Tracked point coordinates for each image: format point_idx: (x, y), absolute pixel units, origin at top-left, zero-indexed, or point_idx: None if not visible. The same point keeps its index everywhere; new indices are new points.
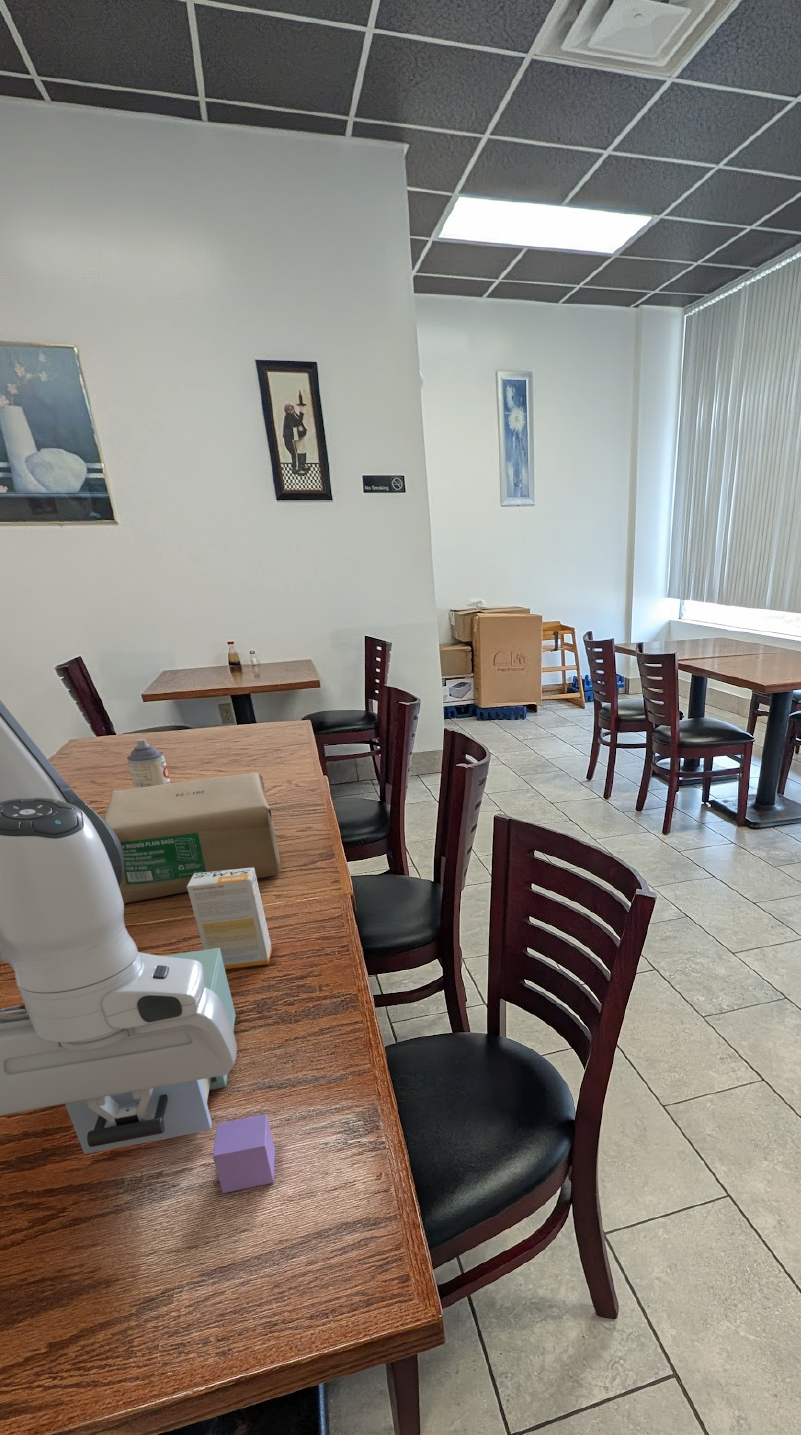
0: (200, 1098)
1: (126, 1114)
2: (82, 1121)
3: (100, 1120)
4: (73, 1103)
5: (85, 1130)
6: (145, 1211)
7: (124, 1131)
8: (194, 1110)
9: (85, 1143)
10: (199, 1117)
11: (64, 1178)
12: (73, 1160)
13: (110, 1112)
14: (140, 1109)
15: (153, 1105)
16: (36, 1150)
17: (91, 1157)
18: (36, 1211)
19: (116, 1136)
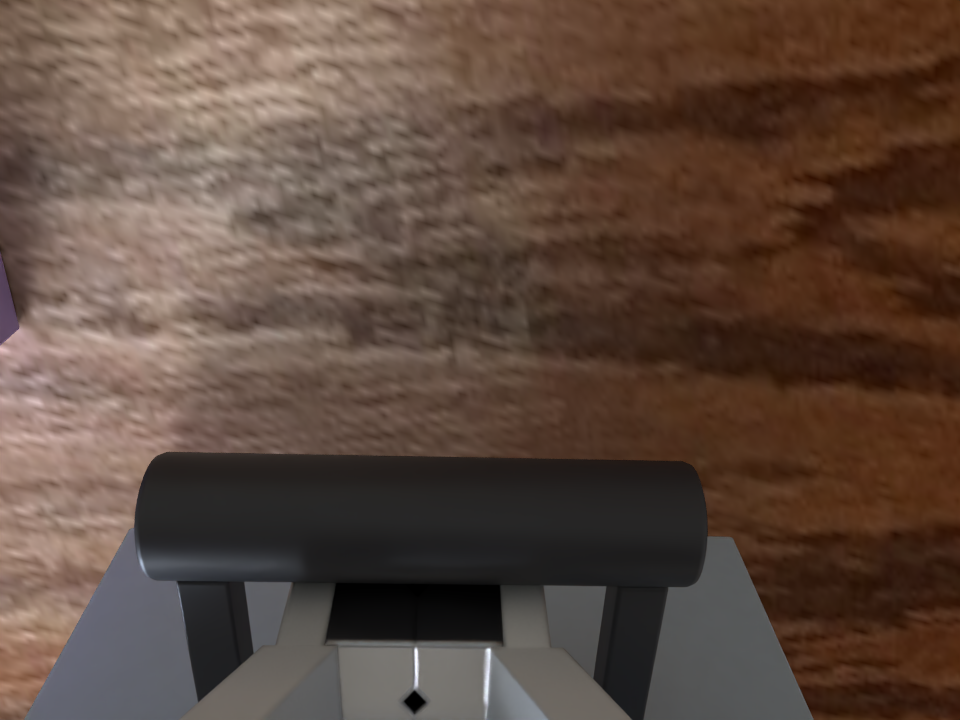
0: (41, 702)
1: (412, 661)
2: (749, 699)
3: (628, 665)
4: None
5: (730, 643)
6: (385, 66)
7: (420, 509)
8: (130, 636)
9: (728, 580)
10: (132, 593)
11: (812, 433)
12: (777, 528)
13: (525, 703)
14: (273, 677)
15: None
16: (927, 622)
17: None
18: (937, 256)
19: (485, 483)
